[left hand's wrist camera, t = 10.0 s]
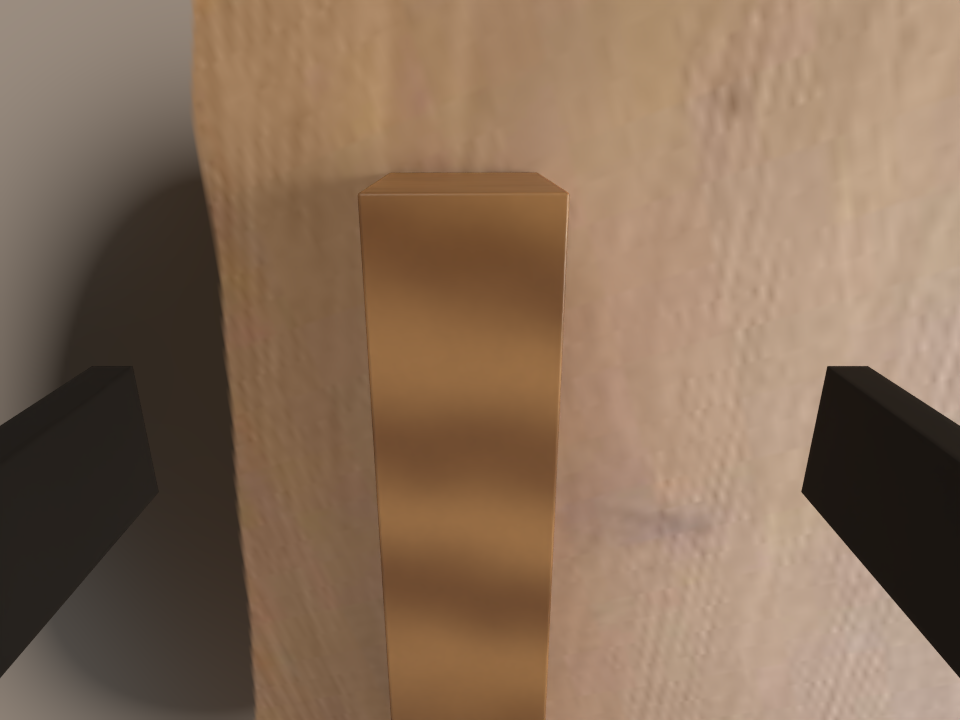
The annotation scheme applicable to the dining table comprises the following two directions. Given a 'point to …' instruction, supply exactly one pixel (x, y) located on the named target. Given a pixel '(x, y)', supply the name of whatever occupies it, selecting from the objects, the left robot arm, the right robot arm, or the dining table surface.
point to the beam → (465, 433)
